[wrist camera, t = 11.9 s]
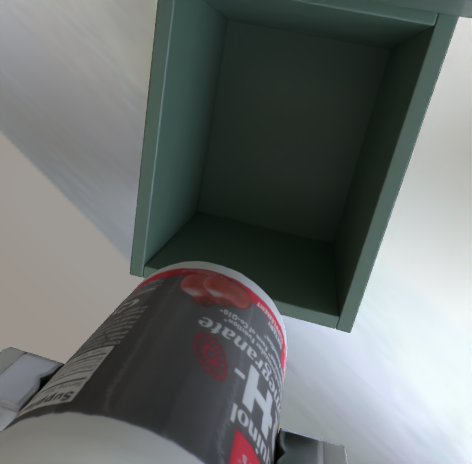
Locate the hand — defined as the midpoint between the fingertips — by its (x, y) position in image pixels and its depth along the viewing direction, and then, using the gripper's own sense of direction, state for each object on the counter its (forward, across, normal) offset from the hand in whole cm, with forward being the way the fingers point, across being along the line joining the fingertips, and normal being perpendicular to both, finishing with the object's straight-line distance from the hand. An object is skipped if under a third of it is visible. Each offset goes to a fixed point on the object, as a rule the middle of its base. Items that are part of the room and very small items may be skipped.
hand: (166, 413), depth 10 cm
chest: (+24, 0, -4) cm, 24 cm away
